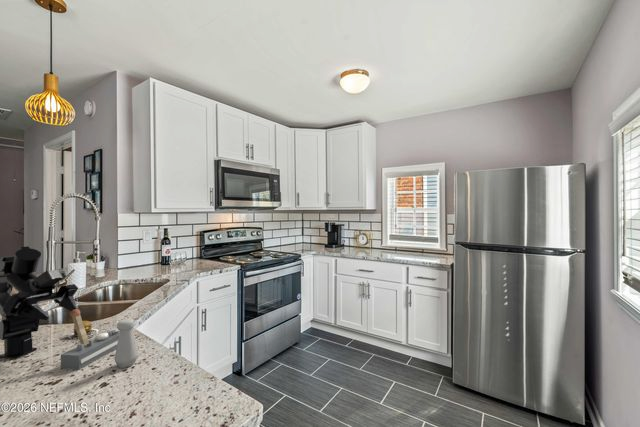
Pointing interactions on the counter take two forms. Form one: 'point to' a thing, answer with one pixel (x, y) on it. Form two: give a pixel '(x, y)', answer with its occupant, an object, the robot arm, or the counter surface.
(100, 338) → the white button
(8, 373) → the counter surface
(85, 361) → the console
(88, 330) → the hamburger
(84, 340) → the ash lever
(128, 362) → the salt shaker
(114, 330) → the block
